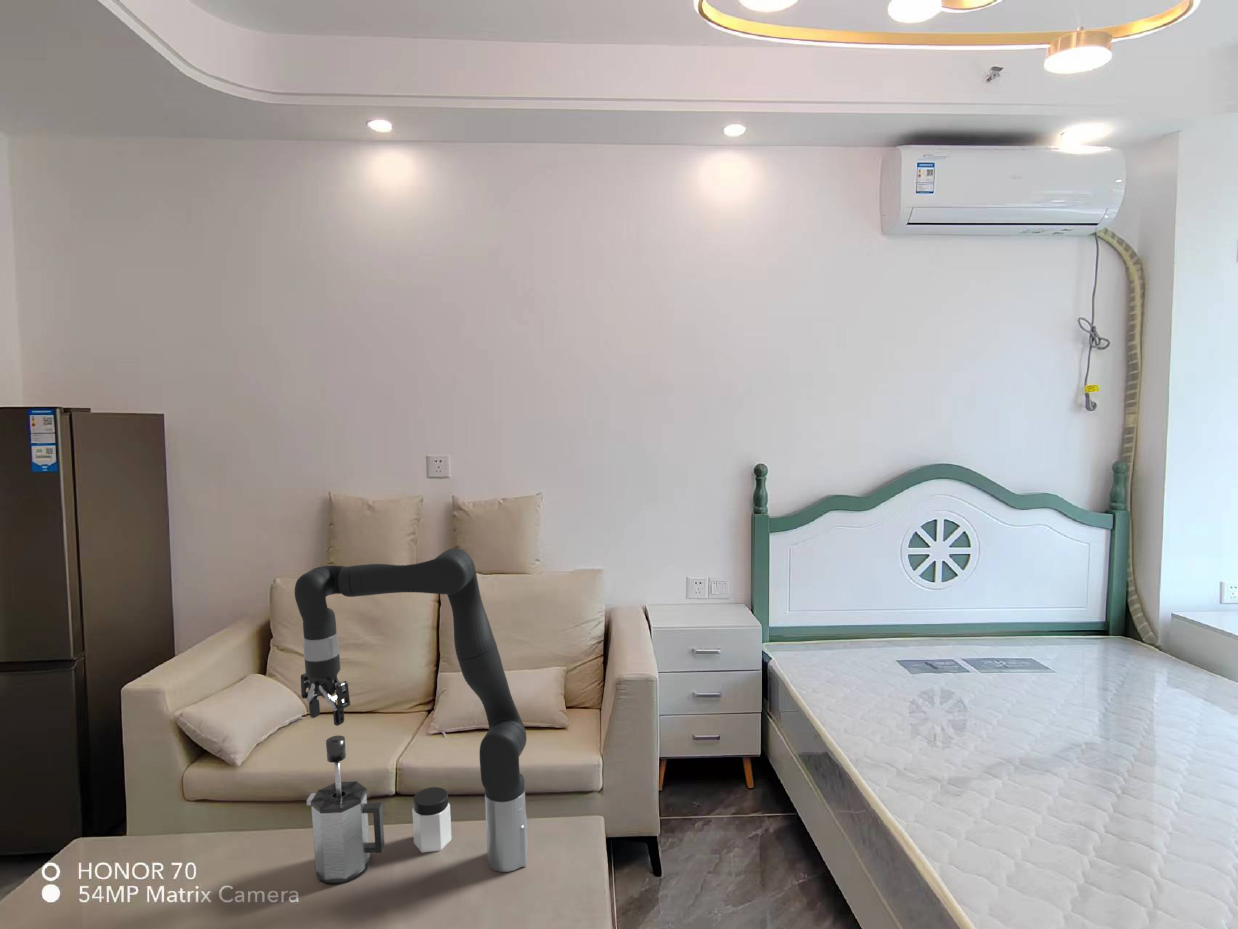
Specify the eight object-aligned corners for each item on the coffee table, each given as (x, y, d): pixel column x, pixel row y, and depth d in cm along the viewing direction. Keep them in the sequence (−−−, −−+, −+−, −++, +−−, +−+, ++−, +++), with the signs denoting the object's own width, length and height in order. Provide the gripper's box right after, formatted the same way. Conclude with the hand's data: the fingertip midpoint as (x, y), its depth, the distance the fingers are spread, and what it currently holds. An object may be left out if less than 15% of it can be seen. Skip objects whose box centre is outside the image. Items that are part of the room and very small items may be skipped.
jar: (456, 843, 179) (454, 797, 177) (425, 858, 173) (422, 810, 172) (440, 826, 185) (438, 782, 184) (409, 840, 180) (407, 794, 179)
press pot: (390, 849, 177) (386, 779, 175) (377, 882, 165) (372, 808, 163) (323, 852, 176) (318, 781, 174) (304, 886, 164) (299, 811, 162)
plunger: (352, 817, 171) (347, 735, 169) (346, 828, 167) (341, 743, 165) (335, 818, 171) (329, 735, 169) (329, 828, 167) (323, 744, 165)
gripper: (355, 653, 169) (360, 720, 171) (315, 643, 176) (320, 707, 178) (328, 664, 163) (333, 734, 164) (288, 654, 170) (293, 720, 172)
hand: (327, 720), depth 171 cm, fingers open, 8 cm apart
